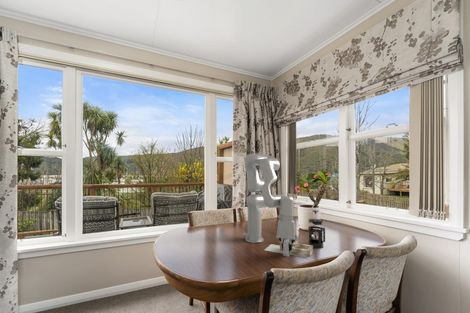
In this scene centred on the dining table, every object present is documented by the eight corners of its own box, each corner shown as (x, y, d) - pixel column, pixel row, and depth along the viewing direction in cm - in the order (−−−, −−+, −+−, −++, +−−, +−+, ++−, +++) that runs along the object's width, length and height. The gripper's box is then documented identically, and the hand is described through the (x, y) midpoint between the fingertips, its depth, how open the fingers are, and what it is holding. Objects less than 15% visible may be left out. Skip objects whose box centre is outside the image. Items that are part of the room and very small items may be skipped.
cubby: (286, 253, 139) (286, 247, 139) (290, 247, 148) (290, 242, 148) (309, 257, 133) (309, 250, 133) (312, 251, 142) (312, 245, 142)
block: (279, 250, 143) (279, 242, 143) (282, 248, 147) (282, 240, 148) (288, 252, 141) (288, 243, 141) (290, 249, 145) (290, 241, 145)
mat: (264, 250, 144) (264, 250, 144) (270, 244, 155) (270, 244, 155) (309, 258, 132) (309, 258, 132) (313, 251, 143) (313, 250, 143)
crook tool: (283, 256, 134) (283, 242, 134) (288, 249, 145) (288, 236, 145) (288, 257, 133) (288, 243, 133) (293, 249, 144) (293, 236, 144)
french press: (312, 249, 146) (312, 212, 148) (304, 244, 156) (304, 209, 157) (328, 248, 149) (328, 211, 150) (320, 243, 158) (319, 209, 159)
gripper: (271, 217, 137) (271, 250, 136) (299, 220, 130) (300, 254, 129) (274, 215, 144) (274, 246, 143) (302, 218, 137) (302, 250, 136)
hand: (286, 250), depth 136 cm, fingers closed on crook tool, 2 cm apart
